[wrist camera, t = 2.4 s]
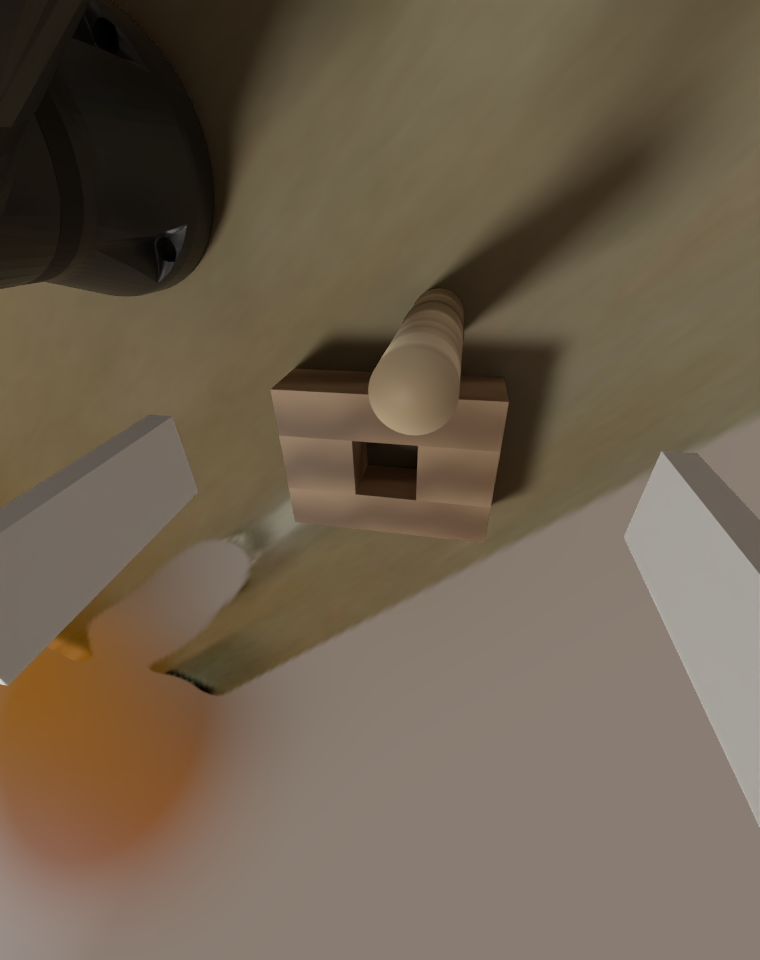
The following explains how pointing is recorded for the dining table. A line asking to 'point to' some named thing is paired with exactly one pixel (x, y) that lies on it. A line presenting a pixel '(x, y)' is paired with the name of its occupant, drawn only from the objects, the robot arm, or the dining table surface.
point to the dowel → (421, 367)
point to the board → (382, 489)
